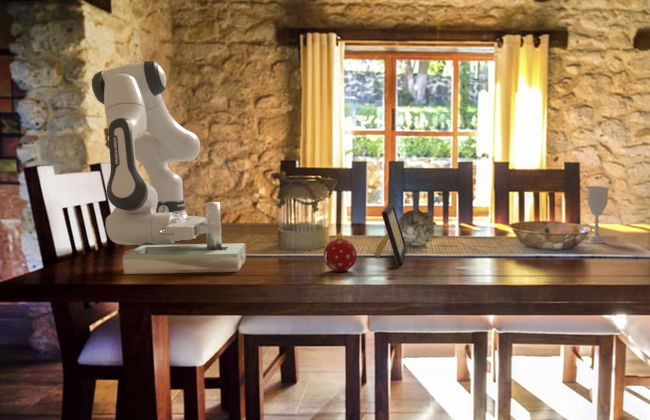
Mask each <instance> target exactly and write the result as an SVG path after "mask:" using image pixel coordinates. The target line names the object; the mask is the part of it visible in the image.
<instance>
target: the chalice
mask: <svg viewBox="0 0 650 420" xmlns="http://www.w3.org/2000/svg"><path fill="white" fill-rule="evenodd" d="M586 189H587V205H588V208H589V210H590V213H591V214H592V215H593V216H594V226H593V228H594V232H593V234H591V235H589V238H588V240H587V243H589V244H590V243H591V244H605V240H604V238H603V236H602V234H600V233H599V228H600V226H599V223H600V221H599V220H600V219H599V217H600V216H601V215H603V213H604V211H605V209H606V207H607V205H608V201H609V200H608V198H609V189H610V186H601V185H600V186H599V185H595V186H594V185H590V186H586Z"/></svg>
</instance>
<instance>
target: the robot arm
mask: <svg viewBox="0 0 650 420" xmlns="http://www.w3.org/2000/svg"><path fill="white" fill-rule="evenodd" d="M166 88H167V75H166V73H165V71H164V69H163V68H162V65H161V64H160V63H158V62H157V61H154V60H145V61H144V62H132V63H125V64H123V65H119V66H116V67H112V68H109V69H106V70H105V69H103V70H101V71H98V72H96V73H94V74H93V76H92V79H91V89H92V92H93V95H94V96H95V98H96V100H97V101H98V102H99V103H101V104H102V105H104V106H103V107H104V112H105V120H106V125H107V130H108V131H107V133H108V147H109V159H110V172H109V178H108V181H107V186H106V196H107V199H108V201H109V203H110V204H112V206H113V207H114V209H113V211H112V212H111V213H110V214H109V215H108V216H107V217H106V218H105V222H104V223H105V225H104V227H105V231H106V234H107V236H108V238H109V240H110V241H112V242H113V243H115V244H118V245H128V246H129V245H130V246H131V245H132V246H133V245H134V246H142V245H146V244H149V245H175V242H180V241H191V240H194V239H196V237H198V236H199V235H203V234H207V233H214V232H215V231H216V229H215V226H206V216H205V217H204V216H201V215H200V216H198V215H188V213H187V211H186V208H187V207H186V200H185V199H184V191H183V190H184V189H183V187H184V186H183V179H182V178H181V176H180V175H179V174H178V173H176V172H174V171H172V170H171V169H170V168H169V165H168V163H177V162H178V163H181V162H187V161H193V160H195V159H197V157H198V156H199V154H200V153H201V152H200V151H201V142H200V139H199V137H198V135H197V134H196V133H195V132H192V131H190V130H188V129H186V128H184V127H183V126H181V125H180V124H179V123H178V122H177V120H175V119H174V118H173V116H171V113H170V112H169V110H168V108H167V106H166V104H165V101H164V99H163V97H162V94H163V93H164V92H165V90H166ZM137 162H139V164H141V166H142V167H143V169H144V170H145V172H146V173H147V177H148V179H149V182H148V181H146V180H145V179H144V178H143V177H142V176H141V175H140V173H139V171H138V168H137Z"/></svg>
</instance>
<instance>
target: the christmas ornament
mask: <svg viewBox="0 0 650 420" xmlns="http://www.w3.org/2000/svg"><path fill="white" fill-rule="evenodd" d="M357 255H358V254H357V250H356V247H355V246H354V245H353V243H352V242H351V241H349V240H347V239H344V238H343V234H342V233H337V237H336V239H333V240H331V241H330V242H329V243H327V244H326V246H325V247H324V250H323V261H324V263H325V265H326V266H327V267H328V268H329V269H330V270H332V271H334V272H338V273H344V272H346V271H348V270H350V269H351V268H353V266H354V265H355V263H356V261H357V257H358V256H357Z"/></svg>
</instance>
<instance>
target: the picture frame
mask: <svg viewBox="0 0 650 420" xmlns="http://www.w3.org/2000/svg"><path fill="white" fill-rule="evenodd" d="M381 216H382V220H383V223H384V226H385V229H386V232H387V233H385V236H383V238H382V239H381V241H379V243H378V244H377V245H376V249H375V251H374V257H376V258H380V256H381V255H382V252H383V250H384V249H385V247H386V245H387V243H388V241H389V243H390V246H391V249H392V253H393V255H394V259H395V262H396V265H397V266H401V265H402V264H403V262H404V258H405V255H406V252H407V246H406V241H405V239H404V236H403V232H402V228H401V225H400V223H399V219H398V216H397V212H396V209H395V206H394V203H392V202H391V203H388V205H386V206H385V208H384V209H383V210H382V212H381Z"/></svg>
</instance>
